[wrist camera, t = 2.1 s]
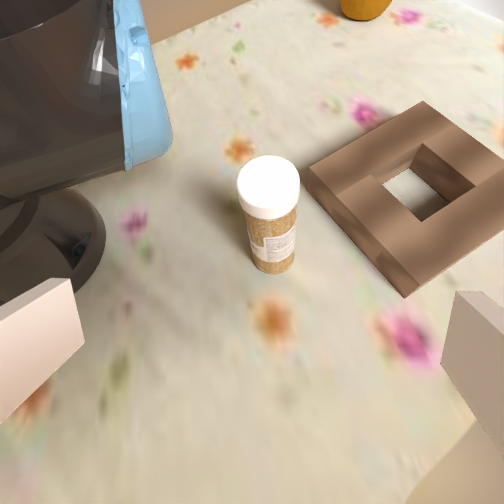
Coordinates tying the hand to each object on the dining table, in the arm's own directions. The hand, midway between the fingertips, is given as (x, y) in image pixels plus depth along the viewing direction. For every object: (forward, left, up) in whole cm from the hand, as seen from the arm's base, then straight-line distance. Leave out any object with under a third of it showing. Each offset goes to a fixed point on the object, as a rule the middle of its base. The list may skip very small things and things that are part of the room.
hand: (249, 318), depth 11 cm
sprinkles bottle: (-9, +6, -20) cm, 23 cm away
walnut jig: (-6, +22, -20) cm, 31 cm away
